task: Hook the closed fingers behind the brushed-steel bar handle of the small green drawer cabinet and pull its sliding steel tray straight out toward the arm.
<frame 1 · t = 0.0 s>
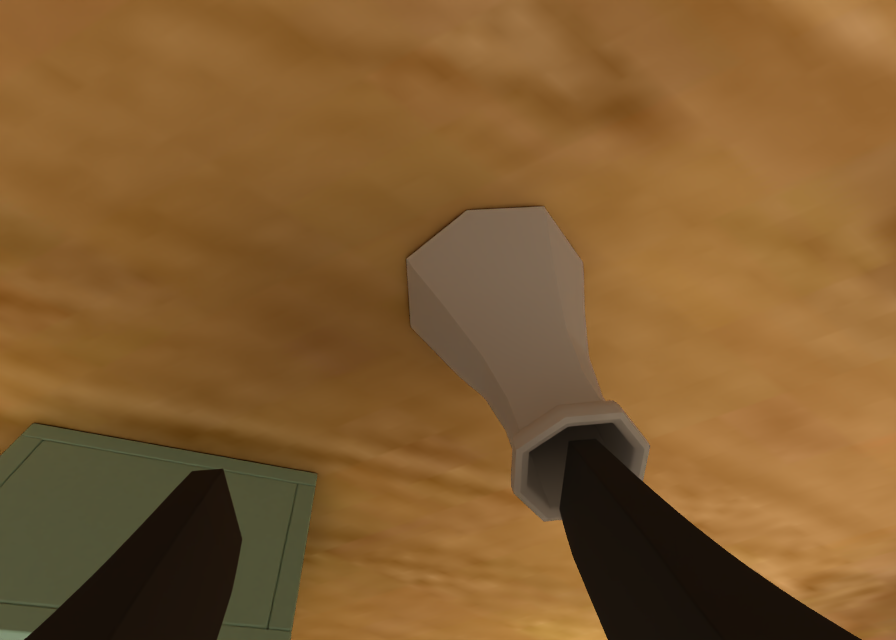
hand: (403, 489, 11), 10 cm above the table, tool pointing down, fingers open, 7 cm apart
flask: (493, 290, 20), on the table
green drawer cabinet: (167, 547, 24), on the table
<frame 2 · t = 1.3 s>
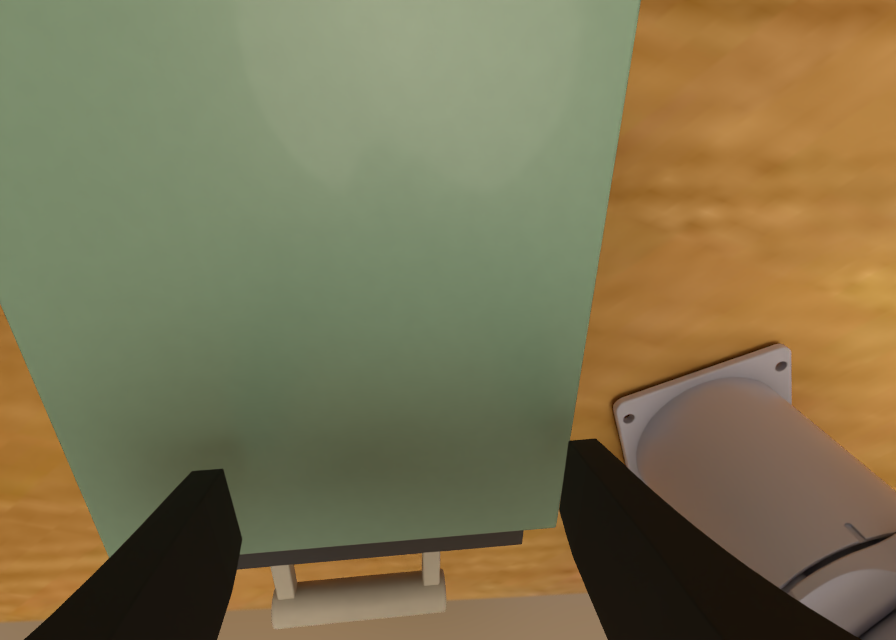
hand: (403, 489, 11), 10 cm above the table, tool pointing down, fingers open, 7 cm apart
tray: (349, 403, 16), point 4 cm above the table, slide at 0.5 cm
green drawer cabinet: (346, 227, 18), on the table
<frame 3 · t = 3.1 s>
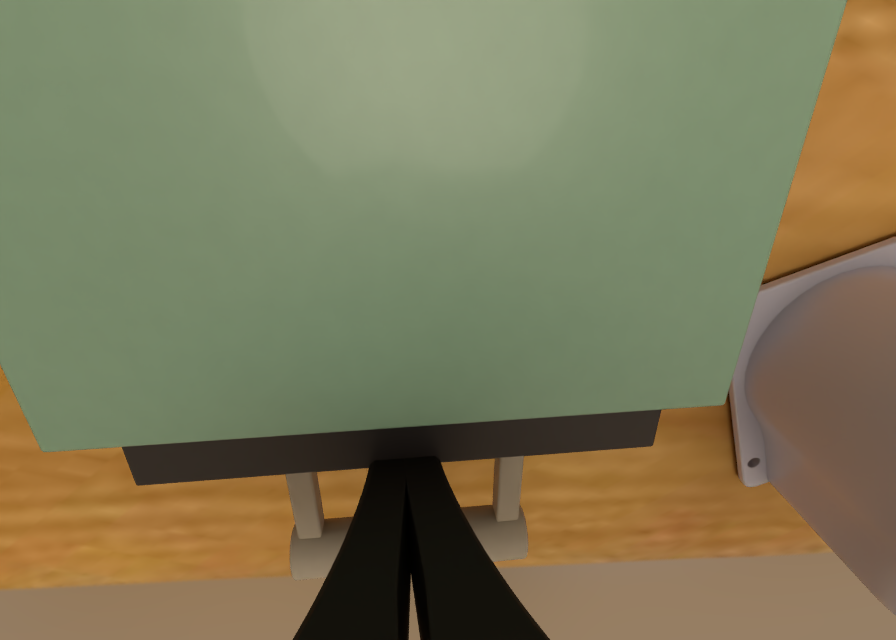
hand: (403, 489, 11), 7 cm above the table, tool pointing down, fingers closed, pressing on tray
tray: (396, 253, 11), point 4 cm above the table, slide at 0.5 cm, touching gripper
green drawer cabinet: (385, 33, 13), on the table
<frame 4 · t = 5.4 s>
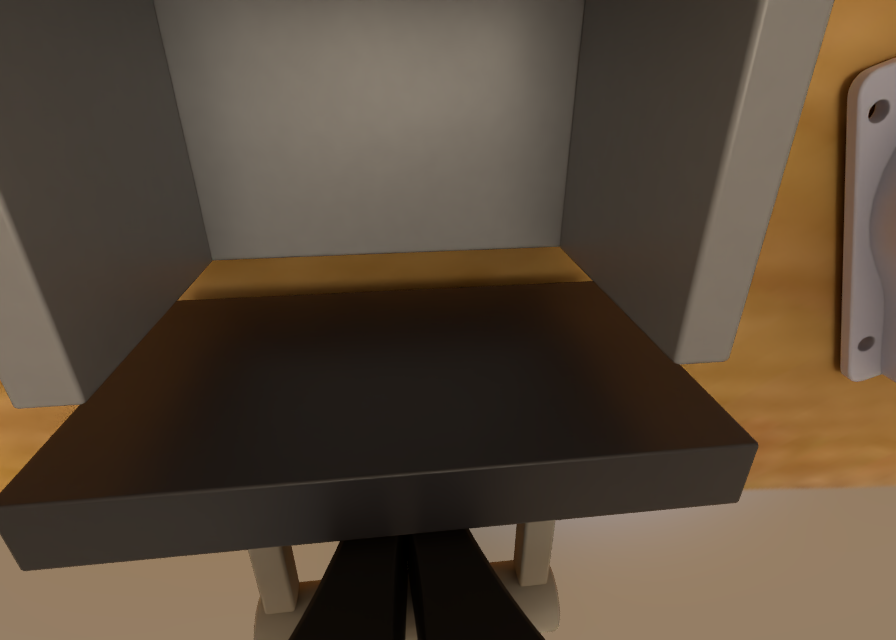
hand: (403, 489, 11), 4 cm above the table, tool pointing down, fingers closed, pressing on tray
tray: (390, 244, 9), point 4 cm above the table, slide at 6.4 cm, touching gripper
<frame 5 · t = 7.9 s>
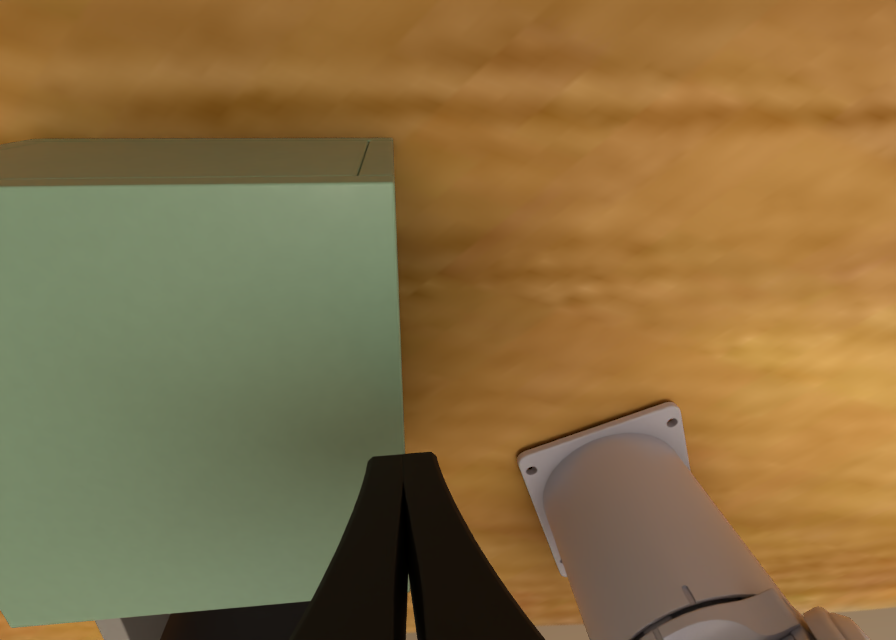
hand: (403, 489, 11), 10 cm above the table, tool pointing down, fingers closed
tray: (267, 576, 20), point 4 cm above the table, slide at 6.1 cm
green drawer cabinet: (250, 308, 19), on the table
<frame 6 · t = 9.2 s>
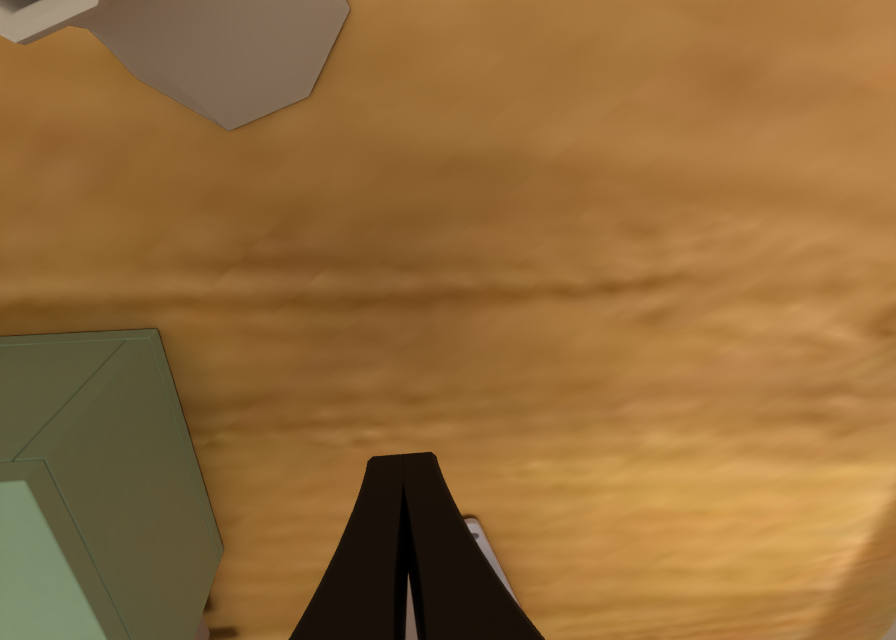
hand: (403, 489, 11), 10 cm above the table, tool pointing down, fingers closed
green drawer cabinet: (55, 463, 22), on the table
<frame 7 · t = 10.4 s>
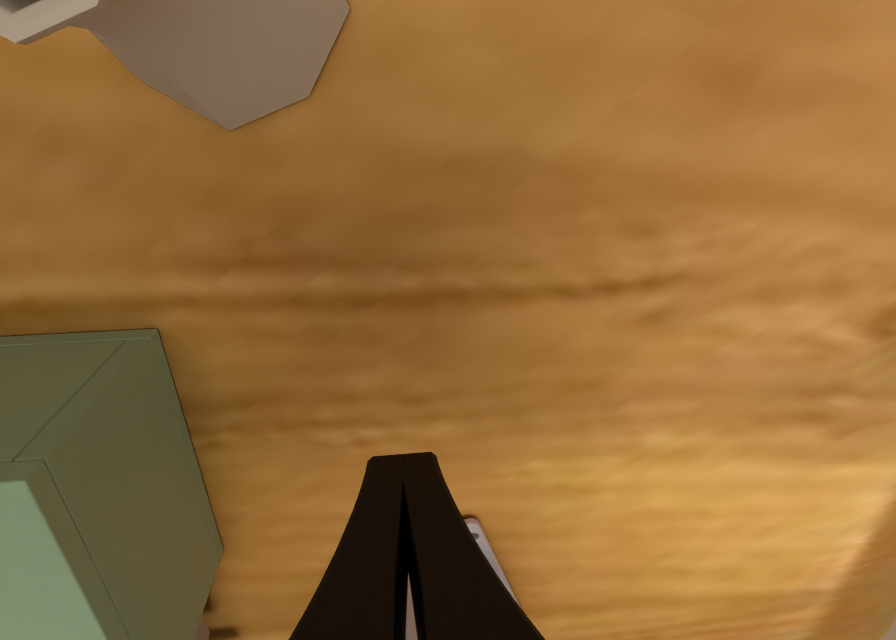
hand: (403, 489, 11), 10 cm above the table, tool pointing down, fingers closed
green drawer cabinet: (55, 463, 22), on the table
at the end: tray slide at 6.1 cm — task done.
